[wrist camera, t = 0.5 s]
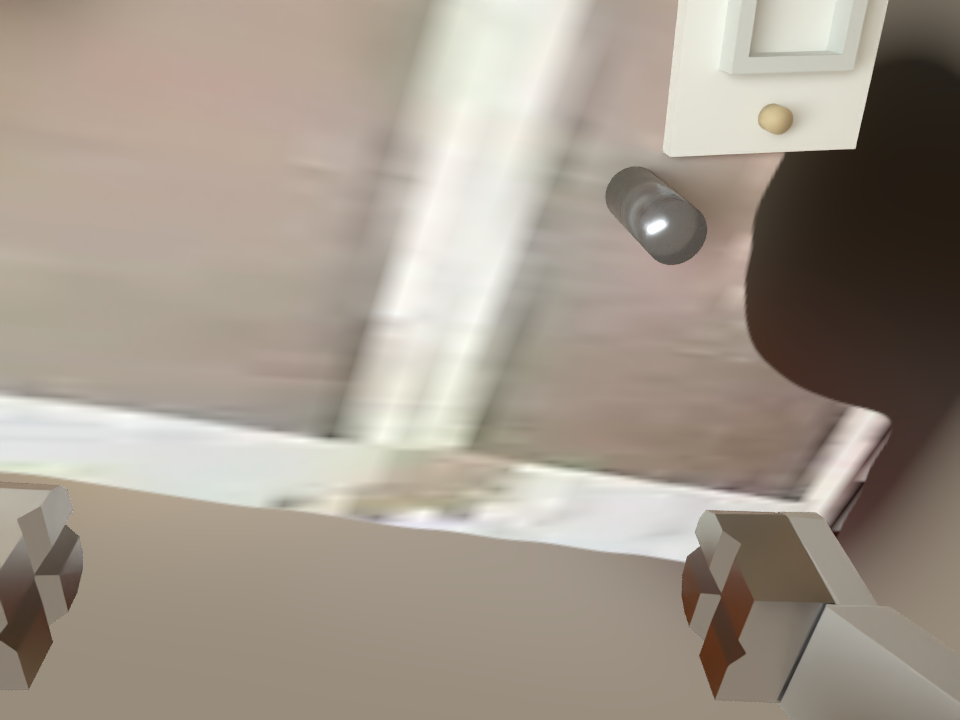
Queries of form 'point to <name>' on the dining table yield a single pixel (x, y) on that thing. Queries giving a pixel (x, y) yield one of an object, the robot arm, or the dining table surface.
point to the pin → (656, 215)
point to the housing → (770, 75)
